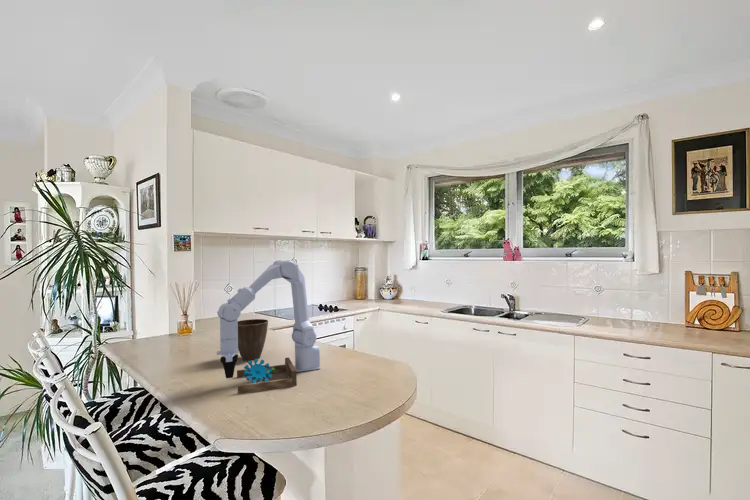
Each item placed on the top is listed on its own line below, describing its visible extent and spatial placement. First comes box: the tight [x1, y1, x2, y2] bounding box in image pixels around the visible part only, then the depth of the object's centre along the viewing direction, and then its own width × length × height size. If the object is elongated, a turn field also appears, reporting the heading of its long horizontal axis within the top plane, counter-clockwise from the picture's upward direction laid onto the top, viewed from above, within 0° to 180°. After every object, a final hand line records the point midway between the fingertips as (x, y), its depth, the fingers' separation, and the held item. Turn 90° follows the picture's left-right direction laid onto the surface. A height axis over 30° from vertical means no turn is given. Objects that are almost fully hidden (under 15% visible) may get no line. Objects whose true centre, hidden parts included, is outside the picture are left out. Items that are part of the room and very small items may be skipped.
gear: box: [243, 359, 275, 383], centre depth 131 cm, size 11×6×10 cm
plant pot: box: [238, 318, 269, 362], centre depth 160 cm, size 15×15×16 cm
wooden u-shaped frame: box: [236, 357, 298, 395], centre depth 131 cm, size 19×18×5 cm
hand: (229, 377), depth 126 cm, fingers closed
